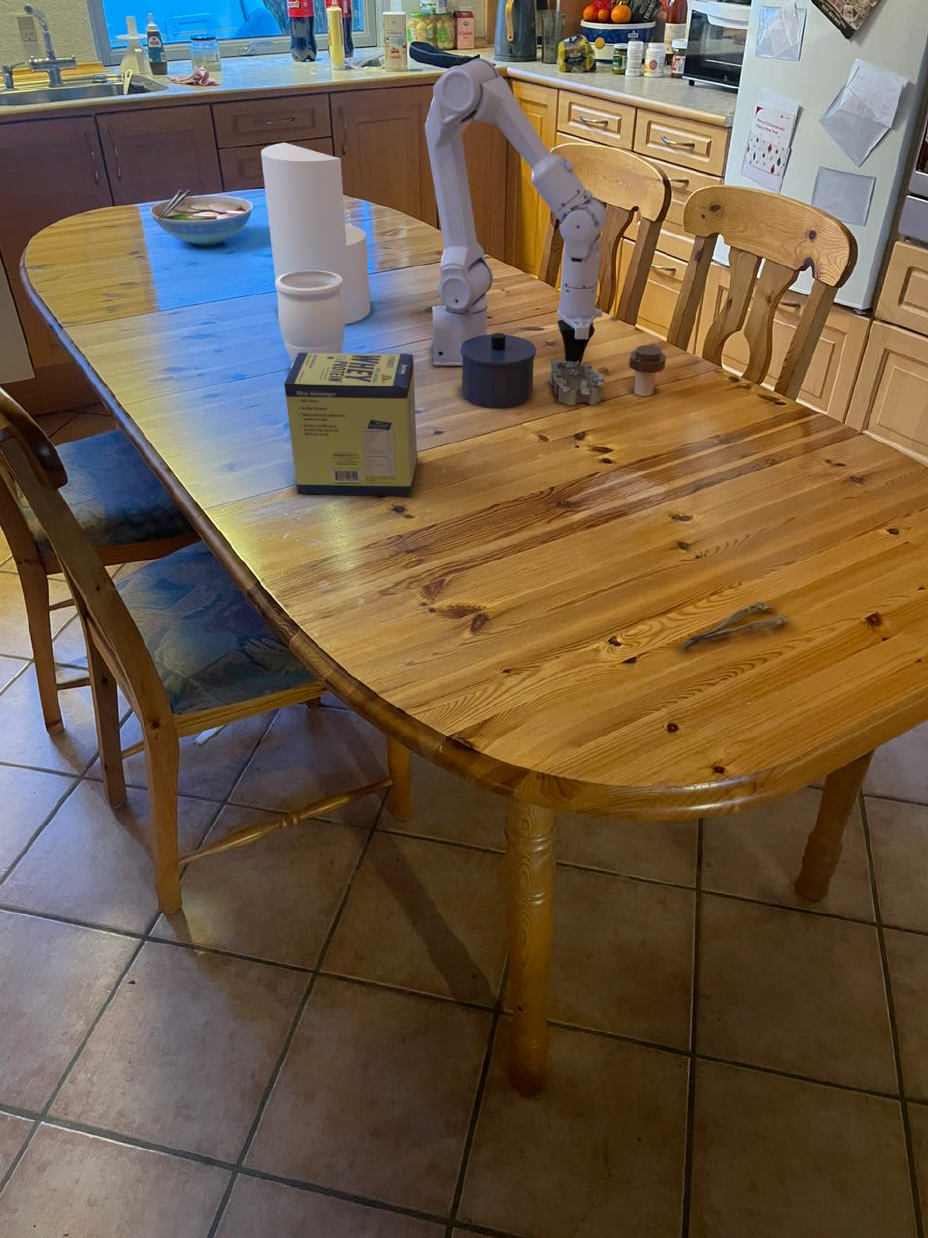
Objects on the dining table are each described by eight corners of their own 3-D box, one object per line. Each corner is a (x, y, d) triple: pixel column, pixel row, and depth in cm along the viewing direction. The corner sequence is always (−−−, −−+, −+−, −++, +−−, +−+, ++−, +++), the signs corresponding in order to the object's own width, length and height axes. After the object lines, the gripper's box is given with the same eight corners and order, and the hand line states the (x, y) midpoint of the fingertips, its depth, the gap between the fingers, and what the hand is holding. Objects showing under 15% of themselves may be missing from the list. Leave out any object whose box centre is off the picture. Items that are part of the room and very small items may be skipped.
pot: (463, 408, 147) (463, 365, 142) (461, 380, 155) (461, 338, 151) (534, 407, 147) (536, 364, 143) (528, 379, 156) (530, 337, 152)
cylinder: (312, 333, 172) (297, 165, 155) (262, 308, 182) (242, 148, 165) (388, 312, 181) (381, 151, 164) (336, 289, 191) (324, 136, 174)
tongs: (674, 645, 100) (678, 629, 99) (760, 610, 106) (764, 595, 105) (703, 666, 97) (706, 651, 96) (789, 629, 103) (793, 614, 102)
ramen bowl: (245, 257, 208) (240, 218, 203) (141, 256, 208) (134, 217, 203) (266, 226, 228) (262, 190, 223) (171, 226, 228) (164, 189, 223)
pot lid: (461, 370, 142) (461, 350, 141) (458, 341, 152) (458, 321, 150) (539, 369, 143) (540, 349, 141) (532, 340, 152) (533, 321, 150)
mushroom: (629, 399, 150) (634, 356, 145) (623, 385, 154) (627, 343, 150) (664, 399, 150) (670, 356, 146) (657, 385, 154) (663, 343, 150)
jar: (358, 363, 161) (352, 273, 152) (332, 386, 153) (324, 293, 144) (302, 355, 164) (293, 266, 155) (273, 377, 156) (262, 285, 147)
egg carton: (604, 406, 148) (606, 381, 145) (556, 407, 147) (558, 382, 145) (593, 378, 156) (595, 354, 154) (547, 379, 156) (549, 355, 153)
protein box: (307, 457, 133) (296, 350, 124) (418, 459, 133) (415, 352, 124) (294, 495, 125) (281, 383, 116) (412, 497, 125) (409, 385, 115)
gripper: (611, 298, 143) (603, 383, 151) (598, 268, 154) (590, 349, 163) (565, 298, 143) (559, 384, 151) (554, 268, 154) (549, 349, 162)
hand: (572, 366), depth 157 cm, fingers closed
